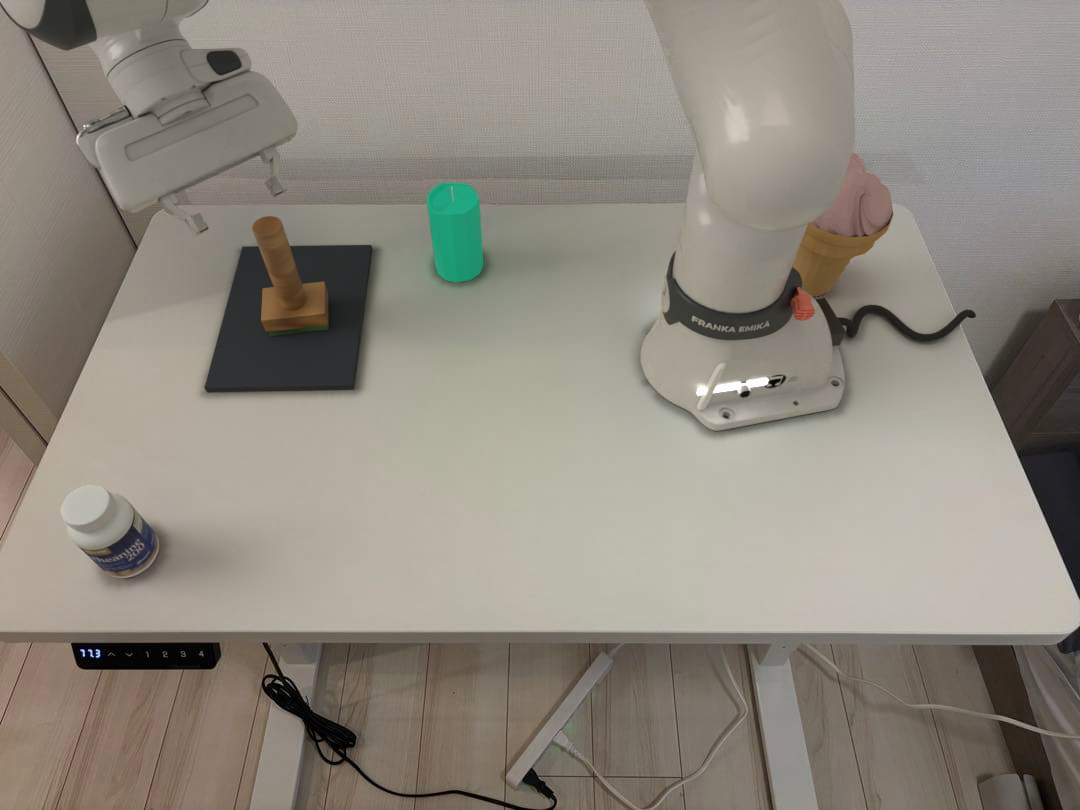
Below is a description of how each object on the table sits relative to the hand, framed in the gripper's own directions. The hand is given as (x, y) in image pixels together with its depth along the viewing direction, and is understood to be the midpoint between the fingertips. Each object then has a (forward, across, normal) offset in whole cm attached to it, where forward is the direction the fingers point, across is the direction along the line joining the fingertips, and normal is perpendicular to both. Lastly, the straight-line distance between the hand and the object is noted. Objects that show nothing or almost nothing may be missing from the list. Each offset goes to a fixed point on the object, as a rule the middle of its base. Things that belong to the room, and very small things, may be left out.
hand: (242, 212), depth 85 cm
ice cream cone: (+38, +50, -21) cm, 66 cm away
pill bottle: (+24, -28, -6) cm, 37 cm away
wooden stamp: (+13, 0, +4) cm, 13 cm away
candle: (+17, +20, +1) cm, 26 cm away
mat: (+12, 0, +6) cm, 13 cm away
